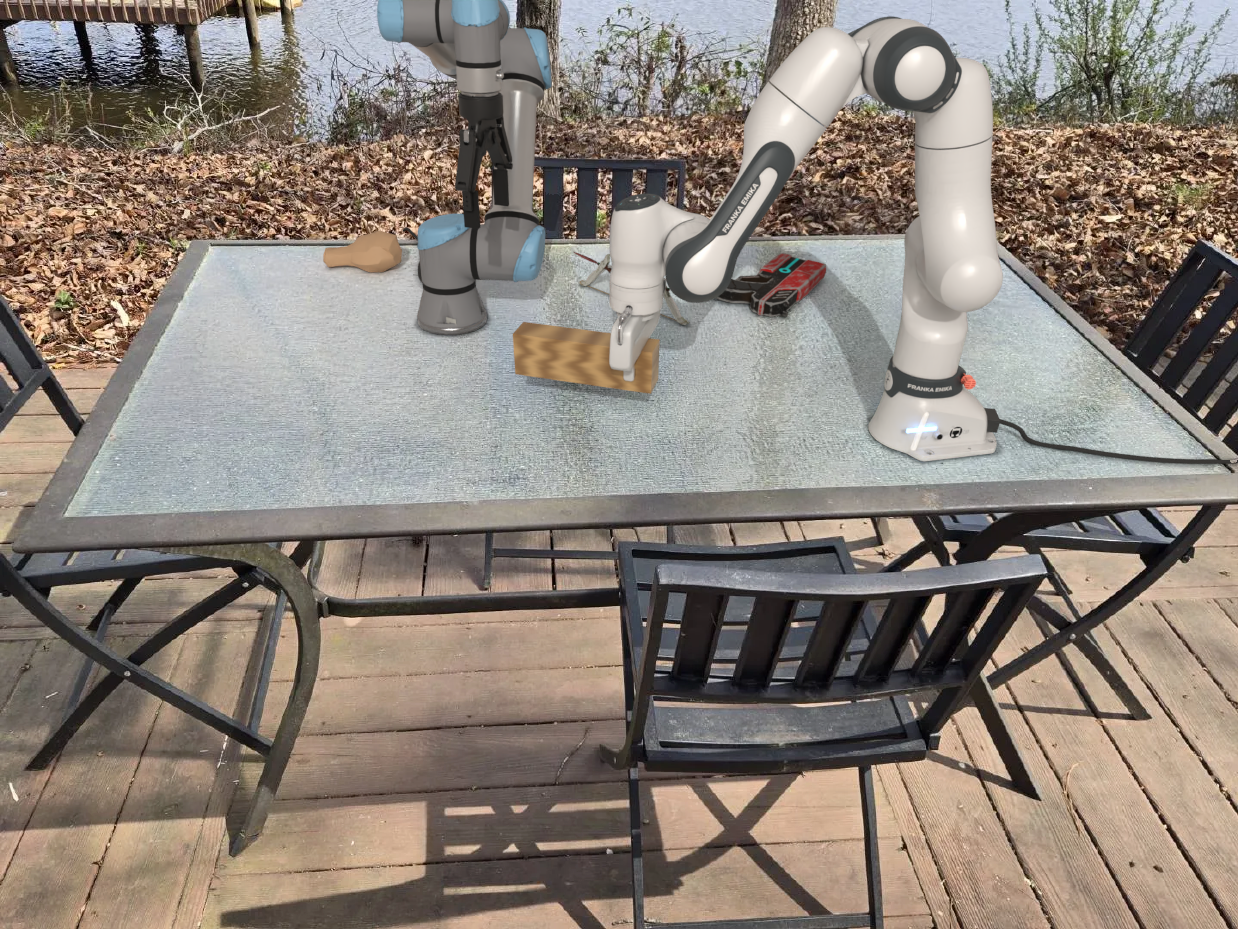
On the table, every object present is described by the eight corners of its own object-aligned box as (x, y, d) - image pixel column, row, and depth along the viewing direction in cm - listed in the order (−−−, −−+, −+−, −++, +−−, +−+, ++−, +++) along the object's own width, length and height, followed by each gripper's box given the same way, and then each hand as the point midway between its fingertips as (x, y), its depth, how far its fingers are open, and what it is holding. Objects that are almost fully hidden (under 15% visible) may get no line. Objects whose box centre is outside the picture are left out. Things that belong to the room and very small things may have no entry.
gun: (708, 284, 207) (784, 305, 199) (760, 245, 229) (831, 262, 221) (706, 302, 209) (781, 323, 201) (758, 261, 231) (828, 278, 223)
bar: (515, 374, 156) (512, 333, 152) (525, 361, 160) (523, 321, 156) (651, 394, 151) (652, 352, 146) (658, 380, 155) (659, 339, 150)
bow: (697, 327, 197) (701, 285, 192) (692, 329, 196) (696, 287, 191) (576, 279, 219) (576, 241, 213) (571, 281, 218) (571, 242, 212)
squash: (402, 276, 219) (391, 244, 212) (324, 283, 220) (312, 251, 214) (409, 253, 226) (400, 222, 220) (335, 261, 228) (323, 229, 222)
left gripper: (470, 108, 138) (479, 240, 150) (527, 80, 158) (530, 198, 170) (427, 104, 139) (439, 235, 151) (488, 77, 159) (494, 194, 171)
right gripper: (638, 323, 135) (636, 401, 143) (668, 275, 152) (665, 347, 159) (599, 318, 137) (599, 395, 144) (633, 271, 153) (632, 343, 161)
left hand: (487, 215), depth 160 cm, fingers open, 13 cm apart
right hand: (634, 370), depth 152 cm, fingers closed on bar, 5 cm apart
